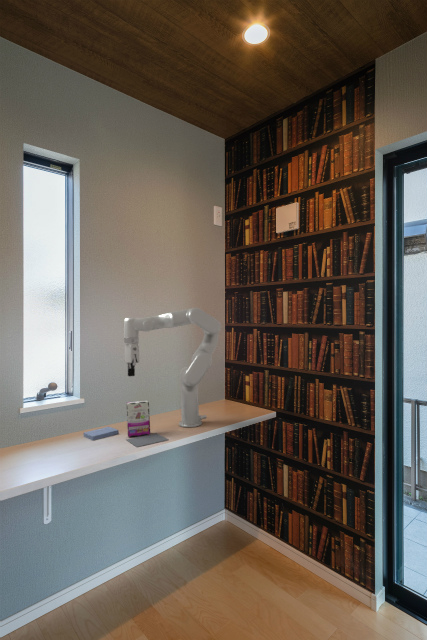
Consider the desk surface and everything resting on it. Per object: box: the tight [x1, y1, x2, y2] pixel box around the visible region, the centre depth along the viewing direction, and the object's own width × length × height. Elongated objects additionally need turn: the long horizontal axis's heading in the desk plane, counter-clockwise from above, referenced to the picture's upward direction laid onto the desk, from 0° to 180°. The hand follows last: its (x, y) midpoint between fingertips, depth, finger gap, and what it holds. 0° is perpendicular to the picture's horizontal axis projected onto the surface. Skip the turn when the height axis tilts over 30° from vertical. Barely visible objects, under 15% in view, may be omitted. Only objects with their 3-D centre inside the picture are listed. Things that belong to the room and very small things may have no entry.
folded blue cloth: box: [83, 426, 119, 441], centre depth 188 cm, size 14×10×2 cm
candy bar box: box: [126, 400, 151, 438], centre depth 186 cm, size 11×5×16 cm, turn 105°
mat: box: [125, 432, 169, 448], centre depth 177 cm, size 16×14×1 cm
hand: (131, 376), depth 194 cm, fingers closed
